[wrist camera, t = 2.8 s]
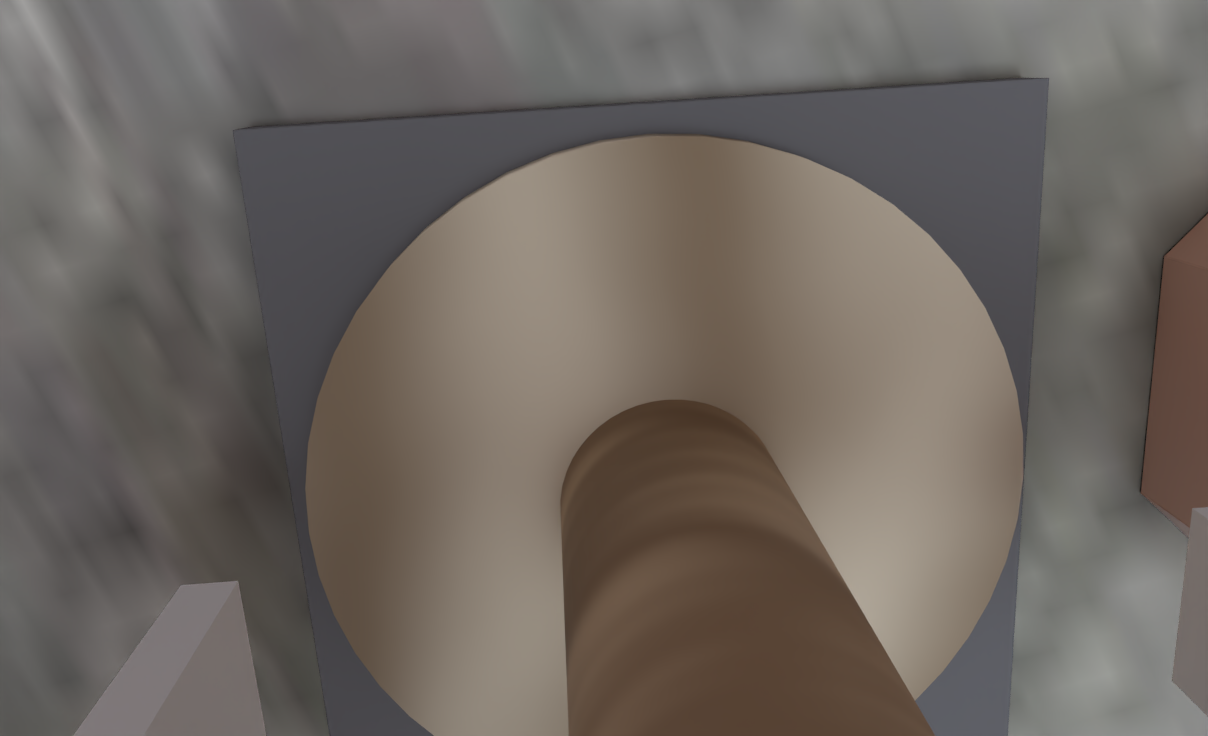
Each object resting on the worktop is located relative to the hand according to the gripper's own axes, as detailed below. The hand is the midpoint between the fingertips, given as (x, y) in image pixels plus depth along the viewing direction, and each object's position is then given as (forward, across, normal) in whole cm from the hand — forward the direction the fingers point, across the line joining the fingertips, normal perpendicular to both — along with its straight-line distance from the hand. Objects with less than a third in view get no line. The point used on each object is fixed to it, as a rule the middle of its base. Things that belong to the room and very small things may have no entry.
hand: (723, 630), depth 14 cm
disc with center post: (+6, 0, 0) cm, 6 cm away
